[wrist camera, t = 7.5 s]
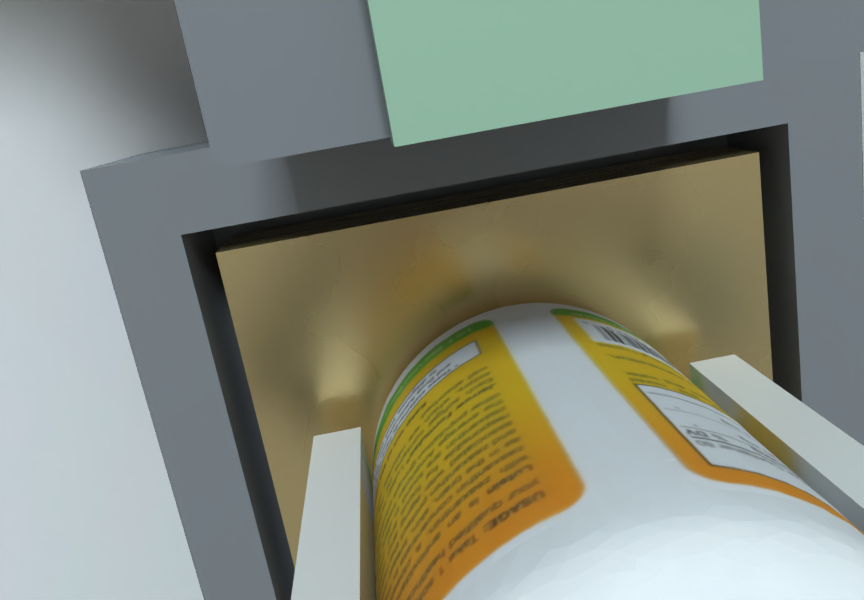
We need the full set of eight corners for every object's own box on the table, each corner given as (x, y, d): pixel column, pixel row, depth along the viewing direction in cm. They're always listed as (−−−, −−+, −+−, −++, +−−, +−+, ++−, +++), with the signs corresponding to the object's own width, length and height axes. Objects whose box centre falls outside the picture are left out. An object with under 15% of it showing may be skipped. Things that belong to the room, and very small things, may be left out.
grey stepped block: (790, 576, 18) (1178, 1016, 10) (280, 681, 18) (201, 1242, 9) (752, -72, 15) (1328, -313, 6) (108, 41, 14) (-297, -40, 6)
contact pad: (750, 568, 16) (787, 614, 15) (333, 654, 16) (330, 709, 15) (718, 146, 14) (758, 151, 13) (230, 235, 14) (216, 252, 12)
